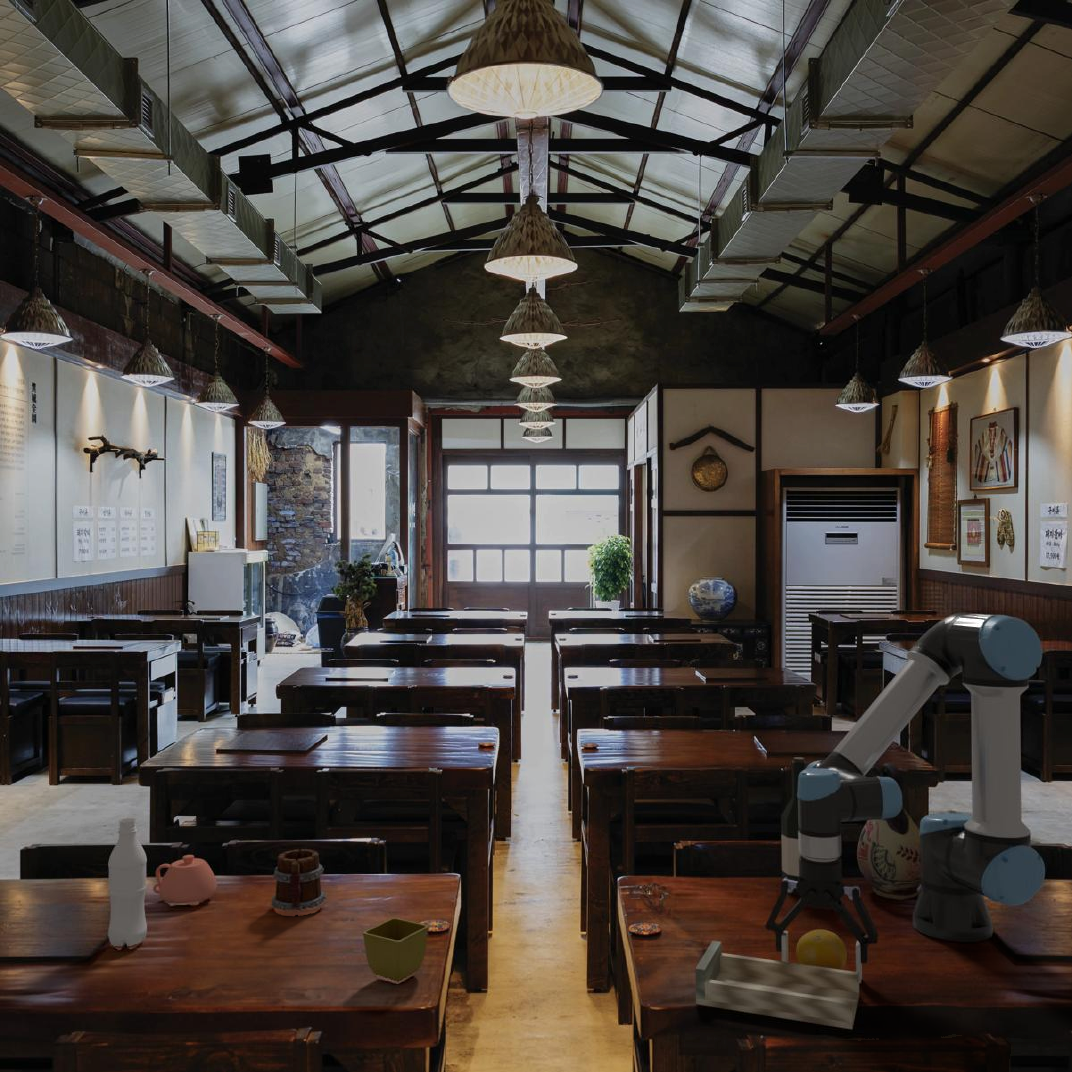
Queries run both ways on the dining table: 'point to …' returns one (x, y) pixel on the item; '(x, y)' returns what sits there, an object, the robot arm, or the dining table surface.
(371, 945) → the flower pot
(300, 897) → the mug
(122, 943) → the water bottle
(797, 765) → the wine bottle
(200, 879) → the sugar bowl
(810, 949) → the fruit
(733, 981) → the channel
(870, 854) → the ceramic jug
